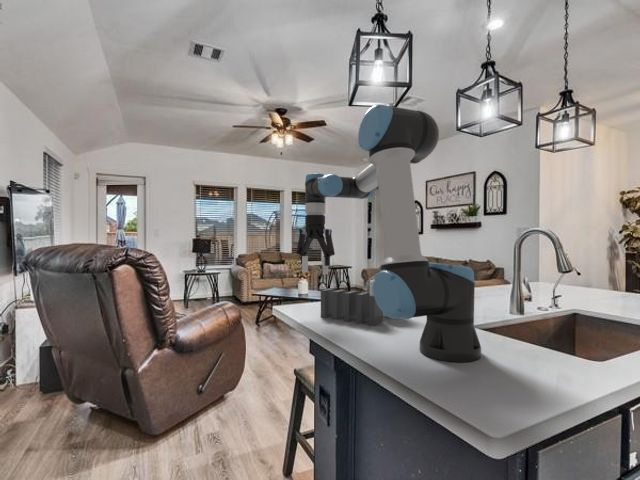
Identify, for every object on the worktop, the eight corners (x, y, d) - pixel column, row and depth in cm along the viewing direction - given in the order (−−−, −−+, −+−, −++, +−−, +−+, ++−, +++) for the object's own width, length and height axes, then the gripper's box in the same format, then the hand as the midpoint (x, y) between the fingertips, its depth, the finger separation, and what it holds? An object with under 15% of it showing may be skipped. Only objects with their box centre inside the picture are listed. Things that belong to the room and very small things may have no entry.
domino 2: (345, 316, 136) (345, 289, 135) (336, 319, 131) (336, 292, 131) (341, 316, 137) (341, 289, 137) (332, 319, 132) (332, 291, 132)
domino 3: (357, 318, 133) (357, 291, 133) (348, 321, 128) (348, 293, 128) (352, 317, 134) (352, 290, 134) (343, 321, 129) (344, 292, 129)
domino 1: (334, 314, 139) (334, 288, 138) (325, 317, 134) (325, 290, 133) (329, 314, 140) (329, 288, 140) (320, 317, 135) (320, 290, 135)
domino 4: (369, 320, 130) (369, 292, 130) (361, 324, 125) (361, 294, 125) (364, 319, 131) (364, 292, 131) (356, 323, 126) (356, 294, 126)
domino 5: (382, 322, 127) (382, 293, 127) (374, 326, 122) (374, 296, 122) (377, 321, 128) (377, 293, 128) (369, 325, 123) (369, 295, 123)
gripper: (344, 214, 136) (344, 274, 137) (299, 215, 149) (299, 270, 149) (333, 213, 130) (333, 276, 130) (287, 214, 143) (287, 272, 143)
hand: (315, 273), depth 140 cm, fingers open, 9 cm apart
